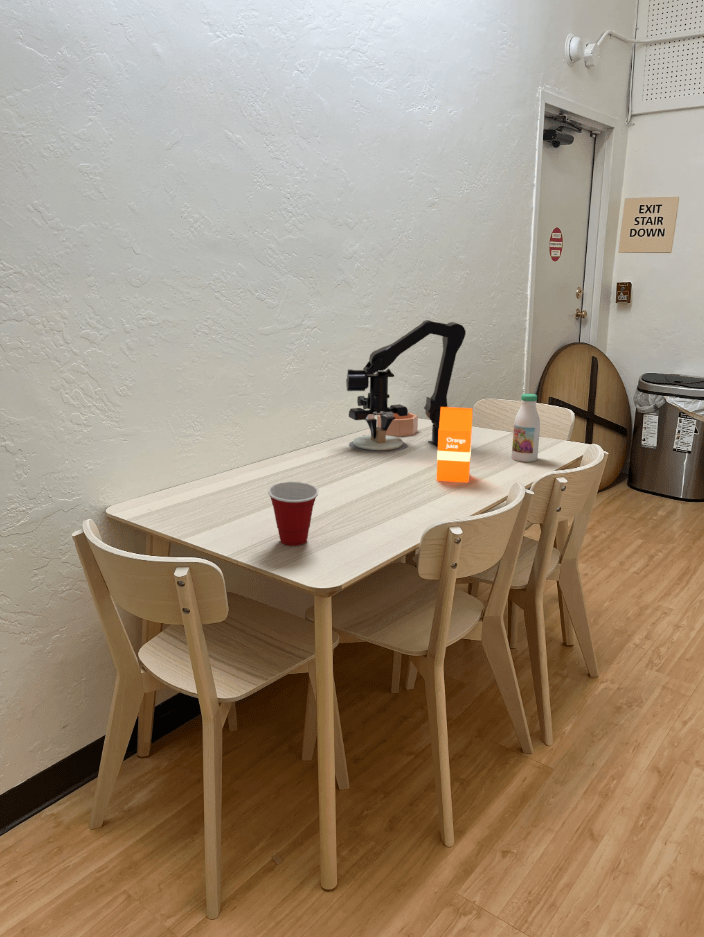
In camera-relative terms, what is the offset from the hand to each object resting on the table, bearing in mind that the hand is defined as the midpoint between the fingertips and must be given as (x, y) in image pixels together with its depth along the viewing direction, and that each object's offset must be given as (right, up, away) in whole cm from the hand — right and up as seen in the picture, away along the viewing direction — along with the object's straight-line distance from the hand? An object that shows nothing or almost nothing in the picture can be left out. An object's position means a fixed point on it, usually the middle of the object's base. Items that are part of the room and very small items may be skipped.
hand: (378, 438), depth 232 cm
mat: (0, -2, +1) cm, 3 cm away
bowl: (+7, +3, +18) cm, 20 cm away
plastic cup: (-21, -26, -76) cm, 83 cm away
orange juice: (+20, -13, -32) cm, 39 cm away
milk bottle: (+44, -7, -13) cm, 47 cm away
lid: (0, -2, +1) cm, 2 cm away
